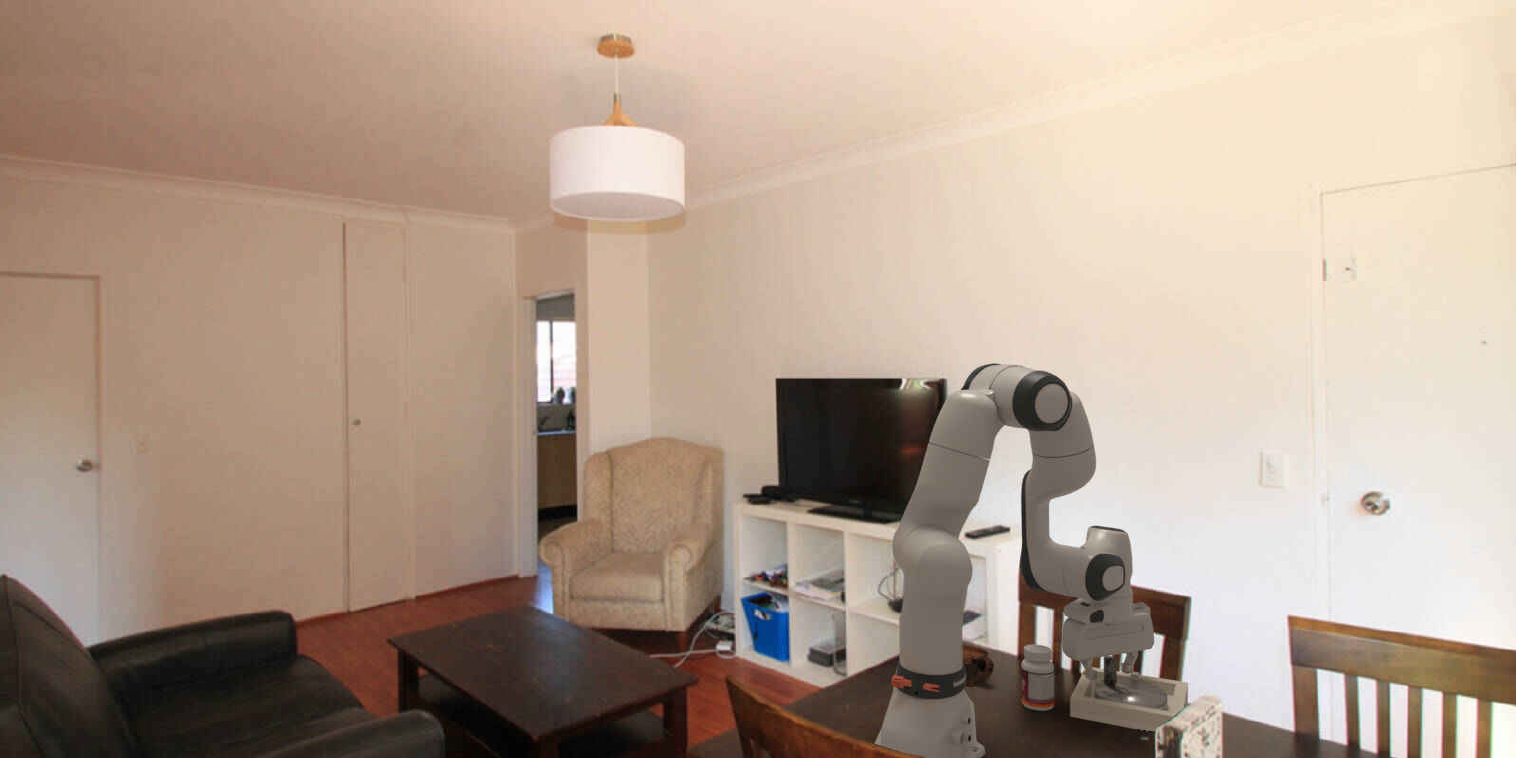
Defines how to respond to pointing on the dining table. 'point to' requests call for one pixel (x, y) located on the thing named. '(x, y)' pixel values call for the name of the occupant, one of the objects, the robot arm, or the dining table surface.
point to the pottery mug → (976, 664)
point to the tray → (1127, 714)
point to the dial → (1128, 689)
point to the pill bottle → (1037, 678)
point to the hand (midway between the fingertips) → (1109, 675)
